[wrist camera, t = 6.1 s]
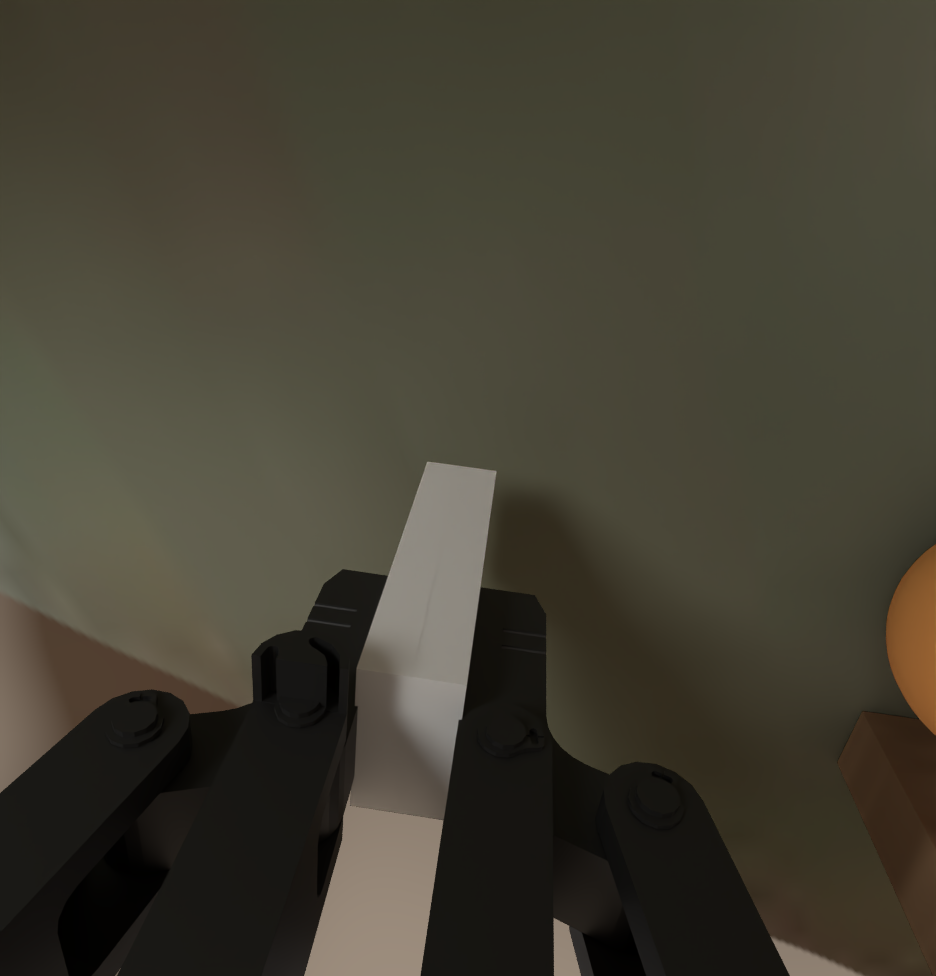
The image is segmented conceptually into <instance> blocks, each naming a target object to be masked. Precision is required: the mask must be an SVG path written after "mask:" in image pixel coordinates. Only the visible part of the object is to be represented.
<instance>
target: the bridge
mask: <svg viewBox="0 0 936 976" xmlns="http://www.w3.org/2000/svg"><path fill="white" fill-rule="evenodd" d="M837 764H838V766H839V768H840V770H841V772H842V775H843V777H844V779H845V781H846V784H847V786H848V788H849V790H850V792H851V795H852V797H853V799H854V801H855V804H856V806H857V808H858V810H859V812H860V815H861V817H862V819H863V821H864V824H865V826H866V828H867V830H868V832H869V835H870V837H871V839H872V841H873V844H874V846H875V848H876V850H877V853H878V855H879V857H880V859H881V861H882V864H883V866H884V868H885V870H886V873H887V875H888V877H889V879H890V881H891V884H892V886H893V888H894V890H895V893H896V895H897V897H898V899H899V901H900V904H901V906H902V908H903V910H904V913H905V915H906V917H907V919H908V921H909V924H910V926H911V928H912V930H913V933H914V935H915V937H916V939H917V942H918V944H919V946H920V948H921V950H922V953H923V955H924V957H925V959H926V962H927V964H928V966H929V968H930V970H931V973H932V975H933V976H936V735H934V734H933V733H932V732H931V731H930V730H929V729H928V728H927V727H926V726H925V724H924V723H923V722H922V721H921V720H920V719H913V718H906V717H899V716H893V715H886V714H879V713H872V712H866V711H862V713H861V715H860V717H859V719H858V721H857V723H856V725H855V727H854V729H853V731H852V733H851V735H850V737H849V739H848V741H847V743H846V745H845V748H844V750H843V752H842V754H841V756H840V758H839V760H838V762H837Z"/></svg>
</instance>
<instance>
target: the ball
mask: <svg viewBox="0 0 936 976" xmlns="http://www.w3.org/2000/svg"><path fill="white" fill-rule="evenodd" d="M886 645H887V654H888V658H889V662H890V666H891V670H892V672H893V675H894V678H895V680H896V683H897V684H898V686H899V688H900V690H901V692H902V694H903V696H904V698H905V699H906V701H907V702H908V704H909V705H910V707H911V709H912V710H913V711H914V713H915V714H916V715H917V716H918V718H919V719H920V720H921V721H922V722H923V723H924V724H925V726H926V727H927V728H928V729H929V730H930V731H931V732H932V733H933V734H934V735H936V544H935V545H934V546H932V547H931V548H929V549H928V550H927V551H925V552H924V553H923V554H922V555H921V556H920V557H919V558H918V559H917V560H916V561H915V562H914V563H913V565H912V566H911V567H910V568H909V570H908V571H907V572H906V573H905V575H904V576H903V577H902V579H901V581H900V583H899V585H898V586H897V588H896V590H895V593H894V595H893V598H892V601H891V604H890V607H889V611H888V616H887V622H886Z"/></svg>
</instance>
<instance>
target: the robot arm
mask: <svg viewBox="0 0 936 976" xmlns="http://www.w3.org/2000/svg"><path fill="white" fill-rule="evenodd" d="M495 478H496V471H492V470H485V469H478V468H471V467H464V466H457V465H449V464H442V463H435V462H428V461H427V464H426V467H425V470H424V473H423V476H422V479H421V482H420V484H419V487H418V490H417V493H416V496H415V499H414V502H413V505H412V508H411V511H410V514H409V517H408V520H407V522H406V525H405V528H404V531H403V534H402V537H401V540H400V543H399V546H398V549H397V552H396V555H395V558H394V560H393V563H392V566H391V569H390V572H389V575H388V576H385V575H379V574H372V573H365V572H358V571H351V570H344V569H343V570H341V571H340V572H339V573H337V574H336V575H335V576H334V577H332V578H331V579H330V580H328V581H327V582H326V583H325V584H324V585H323V587H322V589H321V591H320V593H319V595H318V598H317V600H316V602H315V606H313V608H312V610H311V612H310V614H309V617H308V620H307V622H306V623H305V625H304V627H303V629H302V631H297V630H295V631H291V632H287V633H282V634H278V635H276V636H274V637H272V638H270V639H268V640H267V641H265V642H263V643H261V645H260V646H259V647H258V648H257V649H256V650H255V651H254V653H253V654H252V678H253V702H252V703H250V704H248V705H245V706H242V707H239V708H236V709H231V710H225V711H219V712H209V713H199V714H190V713H189V712H188V710H187V707H186V706H185V704H184V702H183V701H182V700H181V699H179V698H177V697H176V696H174V695H173V694H171V693H168V692H162V691H157V690H145V691H134V692H130V693H127V694H124V695H121V696H118V697H115V698H112V699H111V700H109V701H108V702H106V703H105V704H103V705H102V706H100V707H99V708H97V709H95V710H94V711H93V712H92V713H91V714H90V715H89V716H87V717H86V718H85V719H84V720H83V721H82V722H81V723H79V724H78V725H77V726H76V727H75V728H74V729H73V730H71V731H70V732H69V733H68V734H67V735H66V736H65V737H63V738H62V739H61V740H60V741H59V742H58V743H57V744H56V745H55V746H53V747H52V748H51V749H50V750H49V751H48V752H46V753H45V754H44V755H43V756H42V757H41V758H40V759H39V760H37V761H36V762H35V763H34V764H33V765H32V766H31V767H29V768H28V769H27V770H26V771H25V772H24V773H23V774H21V775H20V776H19V777H18V778H17V779H16V780H15V781H14V782H12V783H11V784H10V785H9V786H8V787H7V788H5V789H4V790H3V791H2V792H1V793H0V976H115V975H116V973H117V972H118V971H119V969H120V968H121V969H120V971H119V973H118V975H117V976H304V974H305V971H306V967H307V963H308V960H309V956H310V953H311V949H312V945H313V942H314V938H315V934H316V931H317V928H318V924H319V920H320V916H321V913H322V910H323V906H324V902H325V898H326V895H327V892H328V888H329V884H330V881H331V877H332V873H333V870H334V866H335V863H336V859H337V855H338V852H339V848H340V845H341V841H342V830H343V815H344V811H345V808H346V804H347V801H348V797H349V794H350V790H351V798H350V806H356V807H363V808H369V809H375V810H382V811H388V812H394V813H401V814H407V815H413V816H420V817H427V818H433V819H439V820H444V821H443V829H442V835H441V841H440V848H439V855H438V862H437V868H436V875H435V882H434V889H433V895H432V902H431V910H430V916H429V922H428V929H427V936H426V943H425V950H424V956H423V963H422V970H421V976H554V942H553V941H554V938H553V937H554V936H553V935H554V933H553V918H555V919H557V920H560V921H561V922H563V923H565V924H567V925H569V929H570V934H571V938H572V942H573V946H574V949H575V953H576V957H577V961H578V965H579V969H580V973H581V976H790V975H789V973H788V971H787V969H786V967H785V965H784V963H783V961H782V959H781V957H780V956H779V953H778V951H777V949H776V947H775V945H774V943H773V941H772V939H771V937H770V935H769V933H768V931H767V929H766V927H765V925H764V923H763V921H762V919H761V917H760V915H759V913H758V911H757V909H756V907H755V905H754V903H753V901H752V899H751V897H750V895H749V893H748V891H747V889H746V887H745V885H744V883H743V880H742V878H741V876H740V874H739V872H738V870H737V868H736V866H735V864H734V862H733V860H732V858H731V856H730V854H729V852H728V850H727V848H726V846H725V844H724V842H723V840H722V838H721V836H720V834H719V832H718V830H717V828H716V826H715V824H714V822H713V820H712V818H711V816H710V814H709V812H708V810H707V808H706V806H705V804H704V802H703V800H702V799H701V797H700V796H699V795H698V793H697V792H696V790H695V789H694V788H693V786H692V785H691V784H690V783H688V782H687V781H686V780H684V779H683V778H682V777H681V776H679V775H678V774H677V773H676V772H673V771H671V770H669V769H666V768H664V767H662V766H659V765H657V764H650V763H642V762H635V763H630V764H626V765H622V766H620V767H619V768H617V769H616V770H615V771H613V772H612V773H611V774H610V775H609V774H606V773H604V772H602V771H600V770H597V769H595V768H593V767H590V766H588V765H586V764H584V763H582V762H580V761H579V760H577V759H575V758H573V757H572V756H571V755H569V754H568V753H567V752H566V751H564V750H563V749H562V748H561V747H560V746H559V744H558V743H557V742H556V741H555V739H554V738H553V736H552V734H551V732H550V730H549V728H548V724H547V718H546V613H545V612H544V610H543V608H542V607H541V605H540V603H539V602H538V600H537V598H536V597H535V595H529V594H522V593H516V592H509V591H502V590H495V589H488V588H481V587H480V586H481V579H482V572H483V565H484V558H485V550H486V543H487V536H488V529H489V522H490V514H491V507H492V500H493V493H494V486H495Z"/></svg>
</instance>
